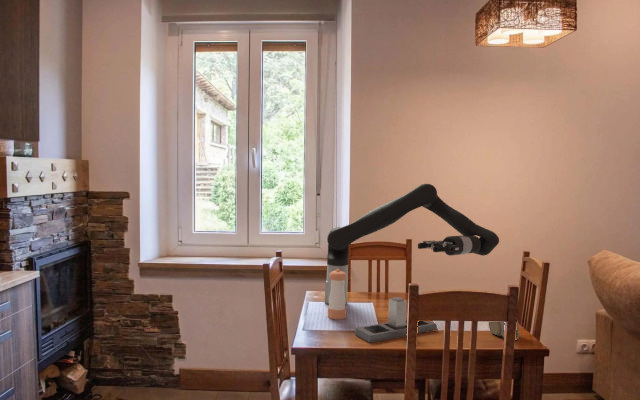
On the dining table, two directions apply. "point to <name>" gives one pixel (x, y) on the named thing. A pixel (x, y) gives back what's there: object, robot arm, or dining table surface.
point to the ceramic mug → (500, 328)
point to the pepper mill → (337, 295)
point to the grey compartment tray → (389, 331)
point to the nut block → (397, 313)
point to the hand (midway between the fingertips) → (425, 247)
